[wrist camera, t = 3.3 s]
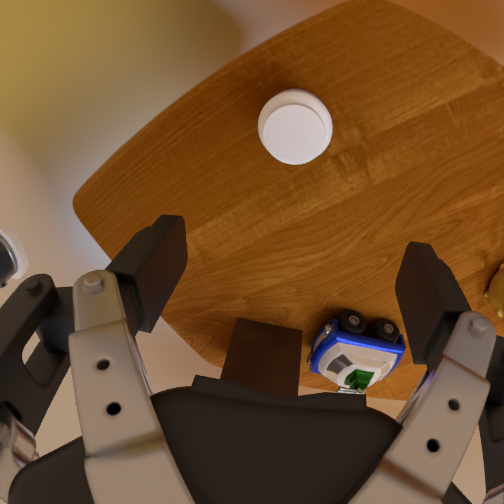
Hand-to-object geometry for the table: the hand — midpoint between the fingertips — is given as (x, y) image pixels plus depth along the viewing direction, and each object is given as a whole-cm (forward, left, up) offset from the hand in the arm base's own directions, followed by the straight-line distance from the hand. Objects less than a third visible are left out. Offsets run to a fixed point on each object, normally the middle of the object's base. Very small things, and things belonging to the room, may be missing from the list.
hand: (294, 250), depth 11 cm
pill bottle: (-1, +2, -20) cm, 20 cm away
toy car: (+13, -24, -20) cm, 34 cm away
